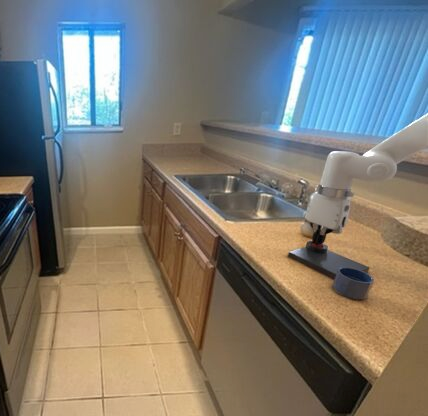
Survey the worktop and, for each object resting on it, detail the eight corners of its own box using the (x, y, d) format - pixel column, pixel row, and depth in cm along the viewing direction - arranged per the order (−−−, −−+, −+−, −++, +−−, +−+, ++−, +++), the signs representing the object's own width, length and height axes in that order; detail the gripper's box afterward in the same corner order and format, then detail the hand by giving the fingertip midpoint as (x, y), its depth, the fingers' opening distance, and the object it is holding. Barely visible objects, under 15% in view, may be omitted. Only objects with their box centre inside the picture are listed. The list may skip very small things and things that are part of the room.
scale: (367, 272, 83) (371, 262, 82) (341, 283, 78) (345, 273, 77) (311, 248, 97) (313, 239, 96) (286, 256, 92) (288, 247, 91)
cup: (372, 296, 73) (379, 278, 71) (356, 303, 70) (363, 285, 68) (341, 281, 79) (347, 264, 77) (326, 287, 77) (331, 270, 75)
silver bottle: (320, 241, 102) (335, 189, 95) (298, 236, 106) (311, 186, 99) (320, 234, 107) (335, 185, 99) (299, 230, 111) (312, 182, 103)
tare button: (323, 249, 92) (324, 244, 91) (317, 250, 91) (319, 246, 90) (314, 245, 94) (315, 241, 94) (309, 247, 93) (310, 242, 93)
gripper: (369, 197, 80) (349, 251, 87) (315, 184, 93) (301, 232, 100) (354, 200, 78) (334, 256, 84) (300, 186, 91) (287, 236, 97)
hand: (316, 243), depth 92 cm, fingers closed
